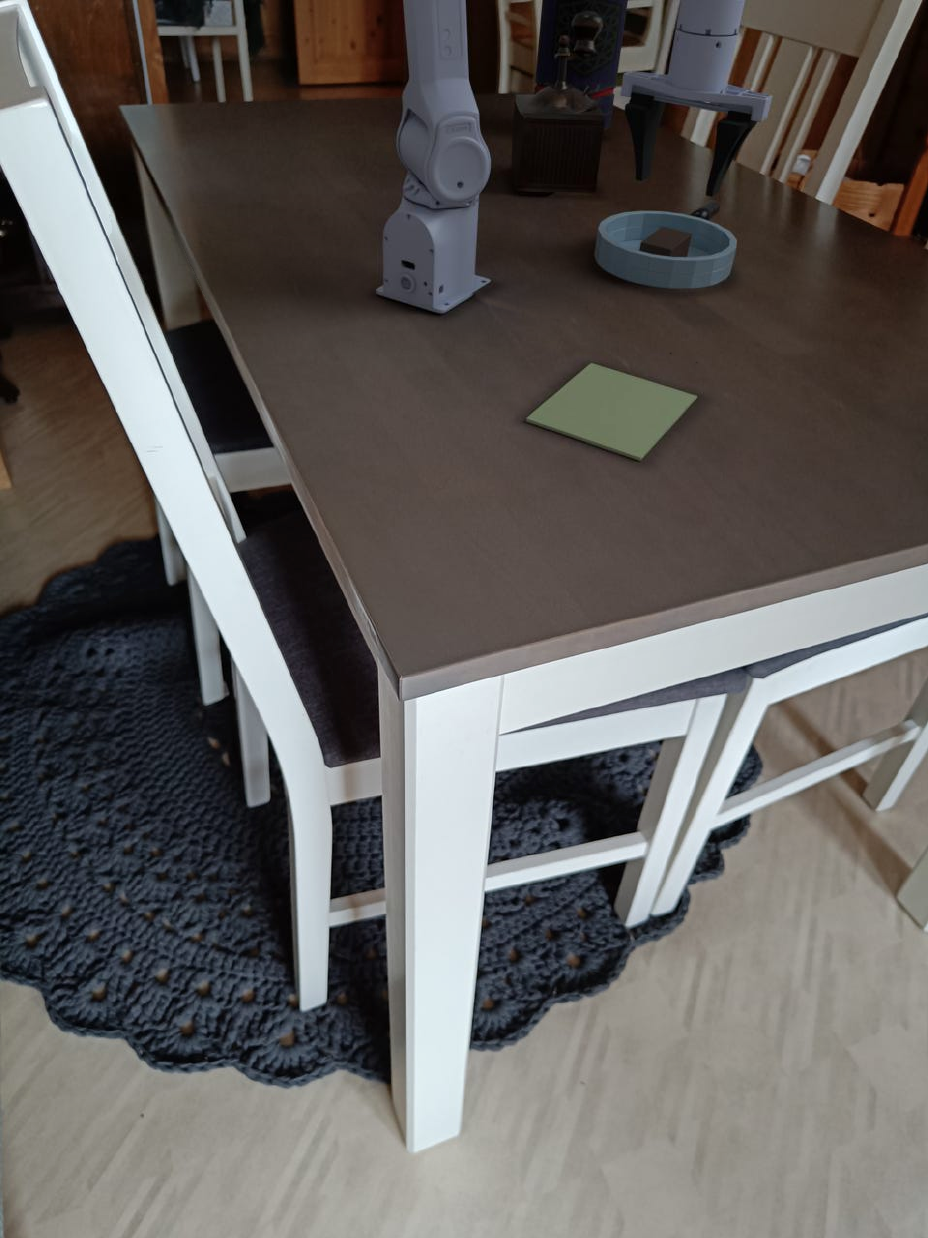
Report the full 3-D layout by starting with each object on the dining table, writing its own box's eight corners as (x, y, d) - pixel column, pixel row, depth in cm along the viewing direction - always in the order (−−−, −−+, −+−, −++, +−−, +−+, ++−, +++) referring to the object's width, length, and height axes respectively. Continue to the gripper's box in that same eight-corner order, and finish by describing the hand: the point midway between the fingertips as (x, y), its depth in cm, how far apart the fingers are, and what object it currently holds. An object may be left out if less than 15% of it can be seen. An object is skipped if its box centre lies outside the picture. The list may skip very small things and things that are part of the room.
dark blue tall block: (615, 143, 134) (654, -117, 114) (535, 141, 133) (560, -123, 113) (598, 119, 144) (631, -125, 124) (524, 116, 143) (545, -130, 123)
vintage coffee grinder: (601, 198, 115) (625, 31, 103) (515, 195, 114) (529, 27, 102) (583, 161, 126) (602, 8, 114) (504, 158, 125) (516, 3, 113)
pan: (700, 305, 91) (708, 271, 89) (571, 270, 96) (575, 237, 94) (746, 262, 101) (755, 230, 98) (627, 232, 106) (632, 201, 104)
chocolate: (666, 273, 96) (671, 249, 94) (636, 265, 97) (640, 241, 95) (687, 256, 99) (692, 233, 98) (657, 249, 101) (662, 226, 99)
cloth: (640, 461, 69) (640, 457, 69) (525, 421, 73) (525, 418, 72) (696, 398, 77) (697, 395, 76) (590, 365, 80) (591, 362, 80)
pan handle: (694, 235, 102) (698, 218, 100) (680, 231, 102) (683, 214, 101) (719, 215, 107) (723, 199, 106) (705, 212, 107) (708, 196, 106)
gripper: (796, 35, 84) (757, 190, 93) (651, 13, 89) (628, 162, 98) (772, 46, 79) (734, 208, 88) (621, 23, 84) (600, 178, 94)
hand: (676, 185), depth 93 cm, fingers open, 7 cm apart
